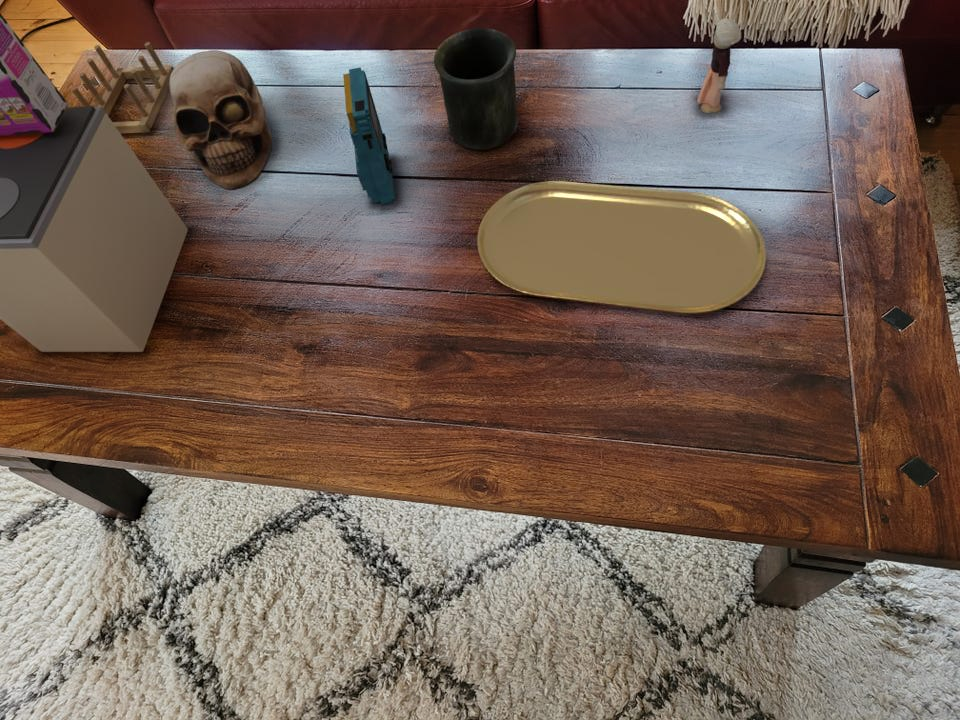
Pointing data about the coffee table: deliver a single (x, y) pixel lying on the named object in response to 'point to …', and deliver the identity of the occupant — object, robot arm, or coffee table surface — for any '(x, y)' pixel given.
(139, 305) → the stove
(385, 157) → the handheld gaming console
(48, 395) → the coffee table surface
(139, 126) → the rack
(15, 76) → the candy bar box
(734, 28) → the grandmother figurine
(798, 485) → the coffee table surface
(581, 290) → the serving platter
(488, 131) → the mug
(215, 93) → the tan skull
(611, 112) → the coffee table surface
